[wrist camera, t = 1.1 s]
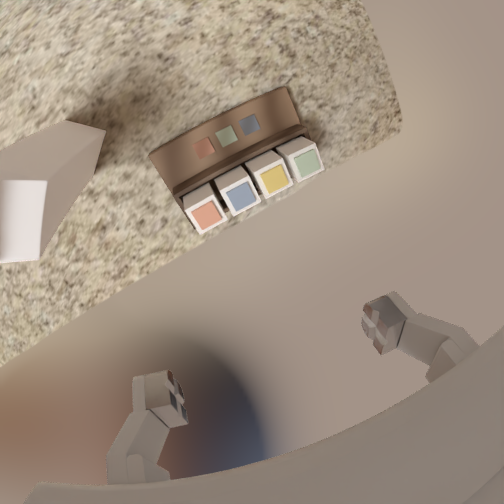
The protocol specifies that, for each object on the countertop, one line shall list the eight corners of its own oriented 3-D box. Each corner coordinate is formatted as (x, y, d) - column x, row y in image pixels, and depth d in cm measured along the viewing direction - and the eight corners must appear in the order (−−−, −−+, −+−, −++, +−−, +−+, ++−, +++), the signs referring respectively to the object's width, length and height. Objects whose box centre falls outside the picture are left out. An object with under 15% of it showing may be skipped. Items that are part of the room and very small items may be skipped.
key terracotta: (208, 182, 32) (213, 195, 29) (221, 205, 34) (228, 220, 31) (182, 196, 33) (184, 211, 29) (196, 219, 35) (200, 236, 31)
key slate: (240, 165, 32) (249, 176, 29) (252, 189, 34) (262, 202, 31) (213, 179, 32) (219, 192, 29) (226, 202, 34) (234, 217, 31)
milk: (106, 130, 29) (30, 199, 11) (93, 176, 32) (27, 289, 14) (63, 119, 27) (-48, 178, 9) (52, 165, 29) (-43, 265, 11)
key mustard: (271, 149, 32) (283, 158, 29) (281, 174, 34) (294, 185, 31) (244, 162, 32) (254, 173, 29) (256, 186, 34) (266, 200, 31)
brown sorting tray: (281, 86, 32) (294, 87, 28) (310, 160, 38) (324, 169, 35) (149, 153, 32) (146, 162, 29) (192, 221, 39) (195, 237, 35)
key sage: (300, 136, 32) (316, 143, 29) (310, 160, 34) (325, 170, 31) (275, 147, 32) (288, 156, 29) (285, 172, 34) (299, 183, 31)
